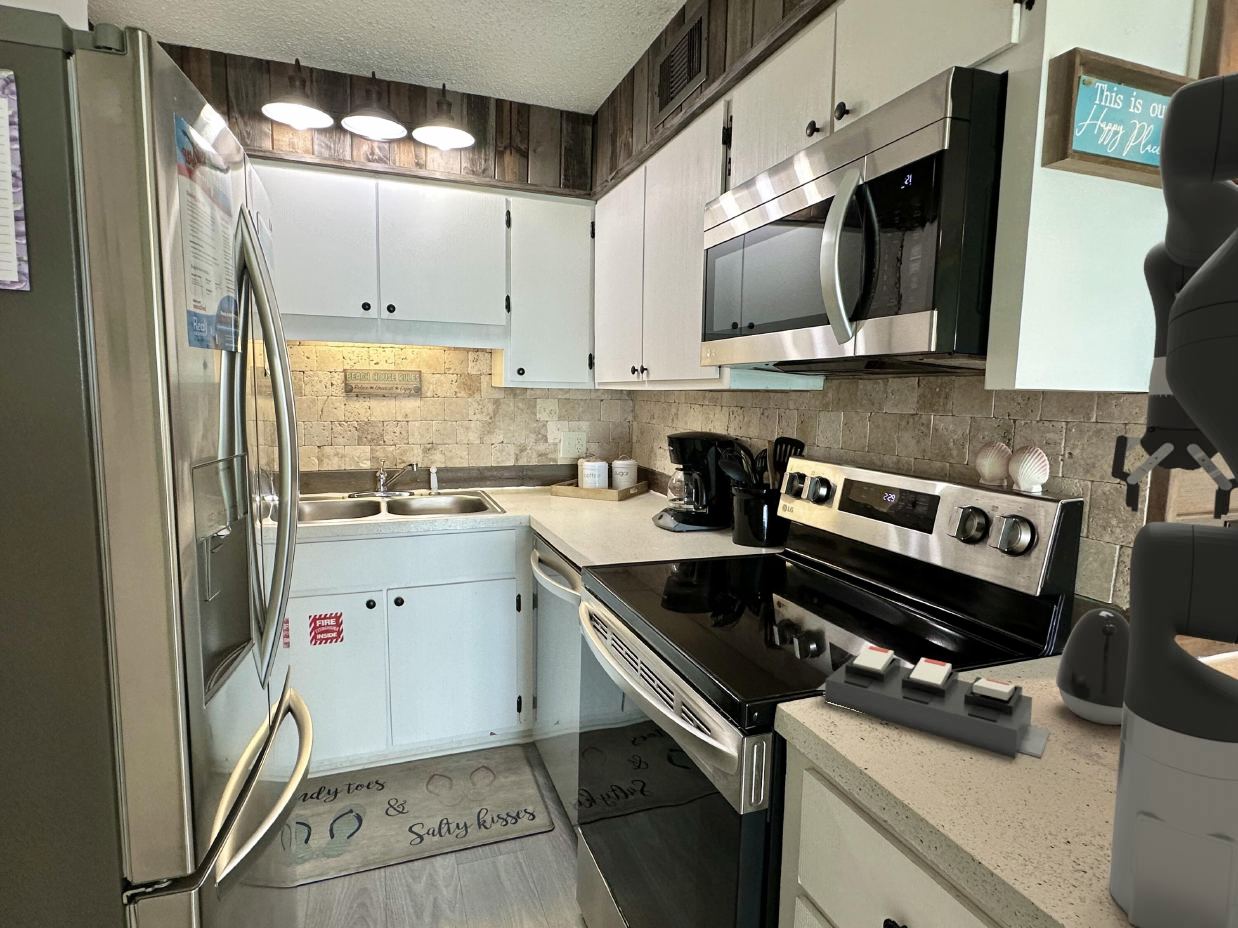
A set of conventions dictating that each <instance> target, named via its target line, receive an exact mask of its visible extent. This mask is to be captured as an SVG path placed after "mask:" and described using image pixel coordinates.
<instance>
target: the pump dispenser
mask: <svg viewBox="0 0 1238 928" xmlns="http://www.w3.org/2000/svg"><path fill="white" fill-rule="evenodd" d="M1128 649H1129V621H1127V619H1126V618H1125V617H1124V616H1123V615H1121V614H1120V613H1118V612H1117V611H1115V610H1112V609H1109V608H1101V607H1100V608H1094V609H1091V610H1089V611H1087V612H1086V613H1084V614H1083V615H1082V616H1081V618H1079V619H1078V621H1077V622H1076V624H1075V625H1074V627H1073V628H1072V630H1071V633H1070V635H1069V636H1068V638H1067V641H1066V642H1065V646H1064V647H1063V651H1062V654H1061V657H1060V660H1059V664H1058V669H1057V672H1056V679H1055V680H1056V686H1057V687H1058V690H1059V691H1058V692H1059V694H1060V697H1061V700H1062V701H1063V703H1064V704H1065V705H1066V707H1067V708H1068V709H1069V710H1070V711H1071V712H1072V713H1074V714H1075V715H1077V716H1079V717H1080V718H1081V719H1082V718H1083V719H1084V720H1086V721H1090V722H1092V723H1096V724H1101V725H1105V726H1106V725H1107V726H1108V725H1109V726H1114V725H1122V713H1123V701H1124V690H1125V680H1126V671H1127V662H1128Z"/></svg>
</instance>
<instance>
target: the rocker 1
mask: <svg viewBox="0 0 1238 928" xmlns="http://www.w3.org/2000/svg"><path fill="white" fill-rule="evenodd" d="M894 652H895V651H894V650H891V649H886V648H882V647H877V646H873V645H869V644H867V645H865V646H864V648H863V649H862V650H861V652H859V653H858V654H859V656H858V657H857V658H856V659H855V661H854V662H853V665H854V666H858V667H862V668H866V669H870V670H874V671H878V672H883V671H884V670H885V669H886V667H887V666H888V665H889V663H890V662H891V660H892V659H893V657H894V658H895V656H894V654H895V653H894Z"/></svg>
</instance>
